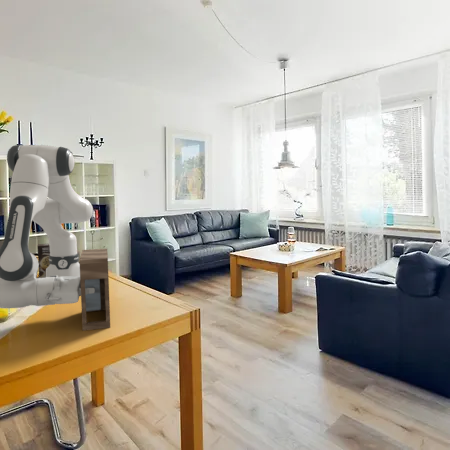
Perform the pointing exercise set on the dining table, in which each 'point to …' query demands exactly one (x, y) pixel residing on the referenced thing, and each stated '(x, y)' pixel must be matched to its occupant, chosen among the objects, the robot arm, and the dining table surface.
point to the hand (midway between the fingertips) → (94, 287)
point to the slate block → (93, 295)
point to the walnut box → (98, 269)
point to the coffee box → (43, 259)
